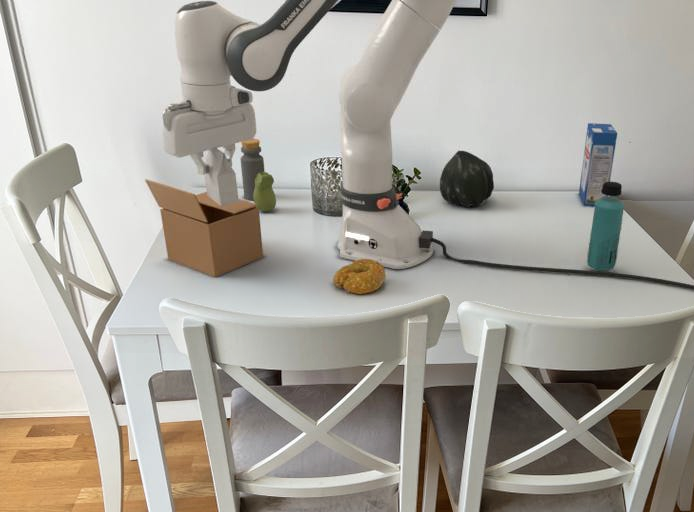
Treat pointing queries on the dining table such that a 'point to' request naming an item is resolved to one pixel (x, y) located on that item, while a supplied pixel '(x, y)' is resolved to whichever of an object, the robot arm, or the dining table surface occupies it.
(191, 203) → the flap
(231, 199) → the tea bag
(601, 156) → the milk carton
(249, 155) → the bottle
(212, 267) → the carton
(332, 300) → the dining table surface
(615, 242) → the beverage bottle
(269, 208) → the pear
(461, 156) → the squash
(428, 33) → the robot arm
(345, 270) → the bagel
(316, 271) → the dining table surface
